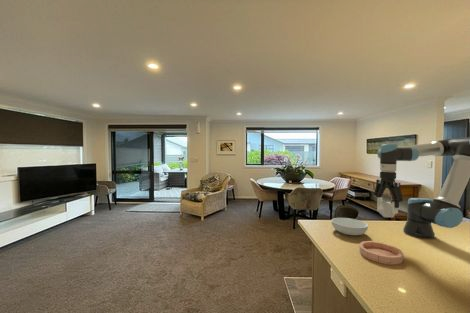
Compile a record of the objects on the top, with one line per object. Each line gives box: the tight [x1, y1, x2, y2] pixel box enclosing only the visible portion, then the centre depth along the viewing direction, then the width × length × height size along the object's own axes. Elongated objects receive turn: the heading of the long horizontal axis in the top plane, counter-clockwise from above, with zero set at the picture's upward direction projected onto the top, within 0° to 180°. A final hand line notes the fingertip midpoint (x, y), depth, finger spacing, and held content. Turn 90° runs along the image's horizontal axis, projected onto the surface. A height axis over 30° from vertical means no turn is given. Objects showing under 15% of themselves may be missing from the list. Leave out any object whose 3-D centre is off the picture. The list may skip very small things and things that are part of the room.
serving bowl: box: [331, 217, 369, 236], centre depth 139 cm, size 21×21×7 cm
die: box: [376, 201, 396, 218], centre depth 122 cm, size 8×9×10 cm
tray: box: [358, 240, 405, 266], centre depth 109 cm, size 18×18×4 cm
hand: (387, 210), depth 122 cm, fingers closed on die, 10 cm apart
